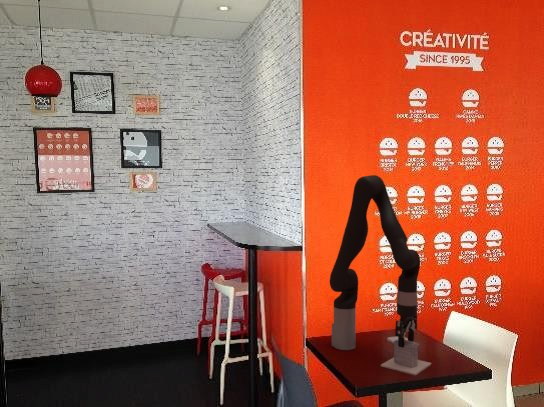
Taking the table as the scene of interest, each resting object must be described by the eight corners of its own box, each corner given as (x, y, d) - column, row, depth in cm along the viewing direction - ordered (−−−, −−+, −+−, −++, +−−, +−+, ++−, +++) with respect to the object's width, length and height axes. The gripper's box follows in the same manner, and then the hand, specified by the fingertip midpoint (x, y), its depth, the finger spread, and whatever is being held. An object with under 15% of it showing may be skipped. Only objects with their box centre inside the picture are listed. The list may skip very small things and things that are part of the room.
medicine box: (418, 365, 189) (418, 342, 189) (412, 368, 186) (412, 345, 186) (399, 359, 195) (399, 338, 194) (393, 362, 192) (393, 340, 191)
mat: (380, 366, 190) (380, 364, 190) (397, 356, 200) (397, 354, 200) (415, 375, 181) (415, 374, 181) (431, 364, 191) (431, 363, 191)
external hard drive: (403, 350, 209) (387, 341, 221) (419, 348, 212) (403, 339, 223) (403, 346, 209) (387, 337, 221) (419, 344, 212) (403, 335, 223)
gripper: (408, 308, 182) (407, 351, 183) (424, 300, 193) (423, 341, 194) (389, 304, 186) (388, 346, 187) (406, 297, 197) (405, 337, 198)
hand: (406, 344), depth 191 cm, fingers open, 8 cm apart
